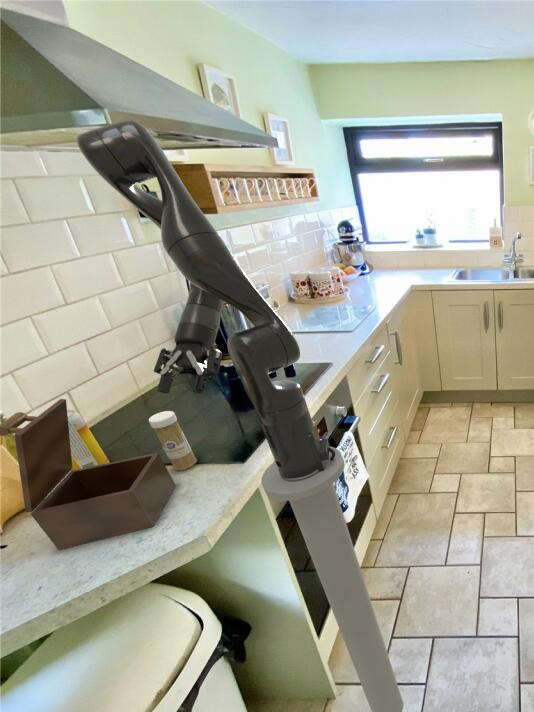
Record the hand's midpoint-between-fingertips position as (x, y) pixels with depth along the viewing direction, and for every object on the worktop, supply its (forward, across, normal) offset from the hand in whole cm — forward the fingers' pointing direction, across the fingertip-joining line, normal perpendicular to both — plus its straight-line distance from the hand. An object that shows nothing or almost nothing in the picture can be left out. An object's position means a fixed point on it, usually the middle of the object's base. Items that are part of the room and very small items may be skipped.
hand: (180, 392), depth 95 cm
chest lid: (+16, -4, -17) cm, 24 cm away
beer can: (+18, -21, +4) cm, 28 cm away
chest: (+27, 0, -5) cm, 27 cm away
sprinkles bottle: (+16, 0, +7) cm, 17 cm away
